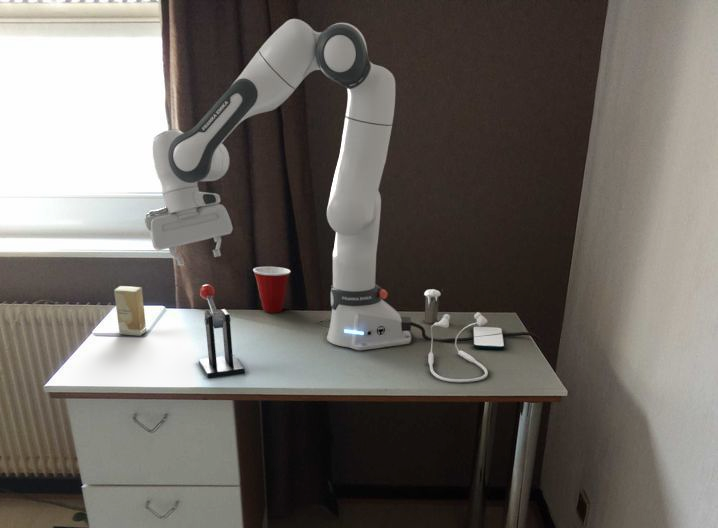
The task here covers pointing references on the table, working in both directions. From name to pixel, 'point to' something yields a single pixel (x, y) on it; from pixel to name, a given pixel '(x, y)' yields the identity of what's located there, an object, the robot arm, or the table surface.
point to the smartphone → (488, 338)
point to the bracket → (229, 361)
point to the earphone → (445, 323)
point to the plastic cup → (272, 287)
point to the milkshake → (431, 305)
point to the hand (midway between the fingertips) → (199, 260)
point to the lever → (212, 305)
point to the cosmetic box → (130, 310)
